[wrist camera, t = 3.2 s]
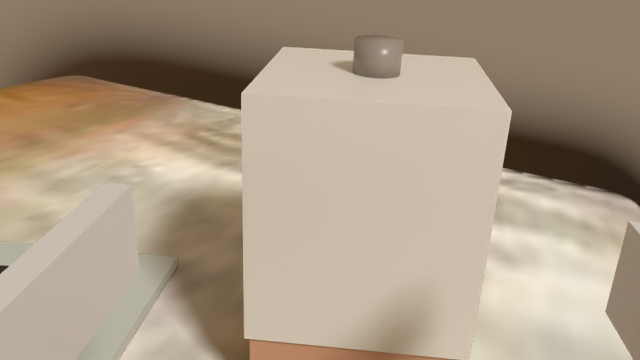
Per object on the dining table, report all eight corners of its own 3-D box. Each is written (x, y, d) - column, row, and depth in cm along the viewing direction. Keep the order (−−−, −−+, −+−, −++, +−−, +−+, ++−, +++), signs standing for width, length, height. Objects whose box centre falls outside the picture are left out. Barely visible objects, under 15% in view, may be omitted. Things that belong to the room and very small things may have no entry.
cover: (244, 357, 26) (240, 53, 21) (280, 250, 34) (284, 18, 29) (466, 380, 25) (518, 70, 20) (445, 264, 33) (478, 28, 28)
